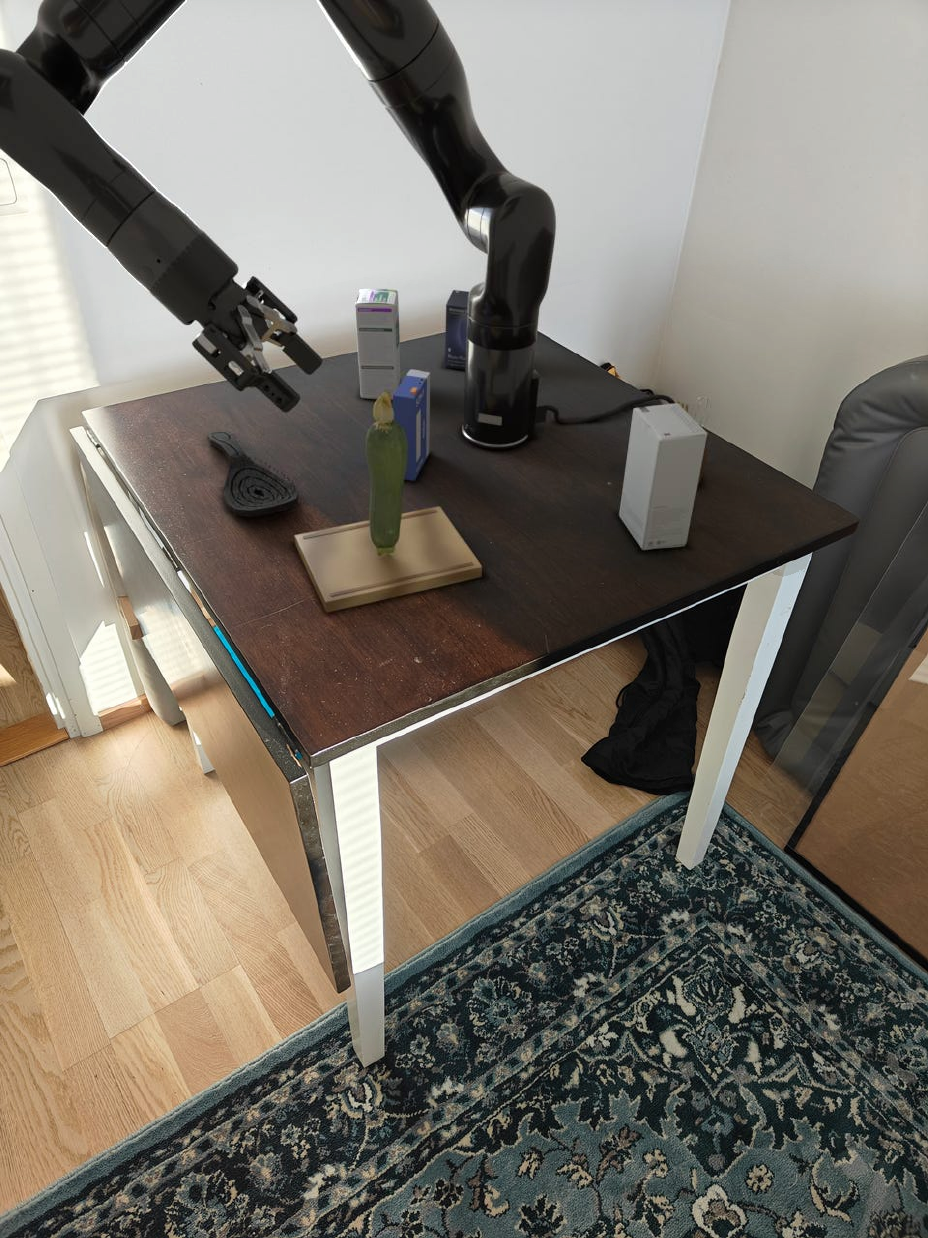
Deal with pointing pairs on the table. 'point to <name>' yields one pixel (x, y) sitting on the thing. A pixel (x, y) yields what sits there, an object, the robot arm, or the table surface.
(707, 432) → the utensil holder
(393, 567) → the cutting board
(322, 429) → the table surface
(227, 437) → the hairbrush
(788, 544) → the table surface
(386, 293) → the syrup box
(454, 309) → the small box
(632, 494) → the cosmetic box
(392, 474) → the vegetable
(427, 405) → the walkman
